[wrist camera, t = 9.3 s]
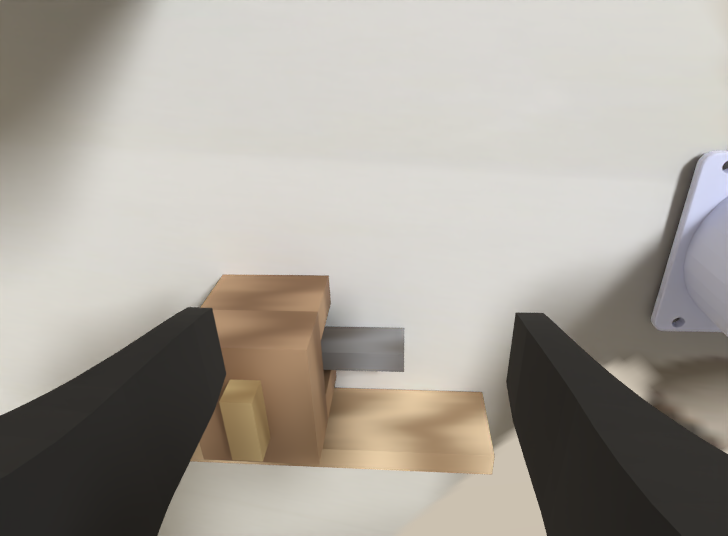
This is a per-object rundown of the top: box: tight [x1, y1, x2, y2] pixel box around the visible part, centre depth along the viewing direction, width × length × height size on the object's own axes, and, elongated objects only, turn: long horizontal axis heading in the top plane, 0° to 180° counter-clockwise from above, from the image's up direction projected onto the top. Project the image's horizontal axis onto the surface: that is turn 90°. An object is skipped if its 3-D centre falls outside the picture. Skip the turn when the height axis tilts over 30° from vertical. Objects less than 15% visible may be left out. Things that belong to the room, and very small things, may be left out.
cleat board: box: [190, 327, 494, 474], centre depth 23 cm, size 18×5×4 cm, turn 92°
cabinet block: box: [199, 275, 336, 465], centre depth 21 cm, size 5×6×7 cm
